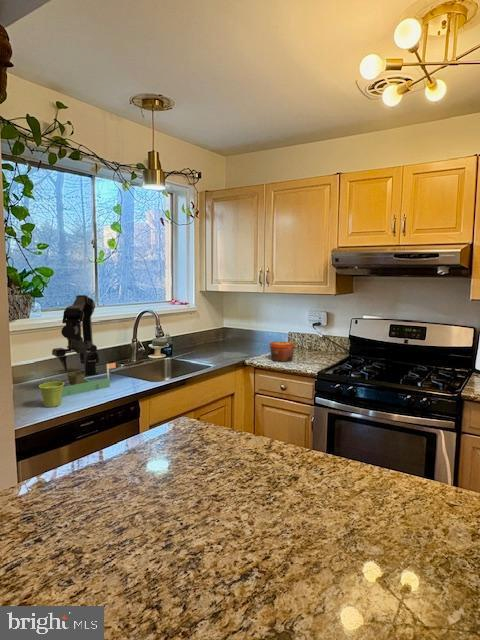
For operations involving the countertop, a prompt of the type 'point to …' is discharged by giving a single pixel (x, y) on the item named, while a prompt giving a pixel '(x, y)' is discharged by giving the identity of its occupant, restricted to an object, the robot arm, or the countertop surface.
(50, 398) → the plant pot
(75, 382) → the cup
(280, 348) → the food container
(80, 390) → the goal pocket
